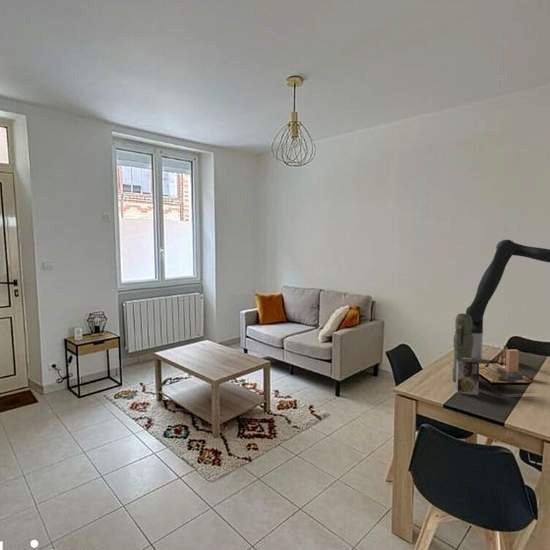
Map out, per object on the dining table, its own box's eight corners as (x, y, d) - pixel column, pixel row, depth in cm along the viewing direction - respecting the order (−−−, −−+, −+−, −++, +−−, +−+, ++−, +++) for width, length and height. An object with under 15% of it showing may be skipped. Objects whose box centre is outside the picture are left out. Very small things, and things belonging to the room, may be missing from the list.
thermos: (449, 382, 186) (451, 315, 183) (455, 376, 195) (457, 311, 192) (469, 386, 181) (471, 317, 178) (473, 379, 190) (476, 313, 187)
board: (514, 375, 191) (515, 349, 190) (517, 377, 189) (519, 350, 188) (505, 375, 191) (506, 349, 190) (508, 377, 189) (509, 350, 187)
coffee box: (476, 390, 176) (477, 358, 175) (478, 395, 170) (479, 362, 169) (455, 388, 179) (456, 356, 178) (457, 393, 173) (458, 360, 172)
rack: (513, 375, 196) (513, 367, 195) (528, 382, 185) (528, 375, 184) (484, 376, 195) (484, 368, 195) (498, 383, 184) (498, 376, 184)
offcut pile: (497, 373, 194) (497, 363, 194) (509, 380, 185) (509, 368, 184) (486, 374, 194) (487, 363, 193) (498, 380, 185) (498, 369, 184)
